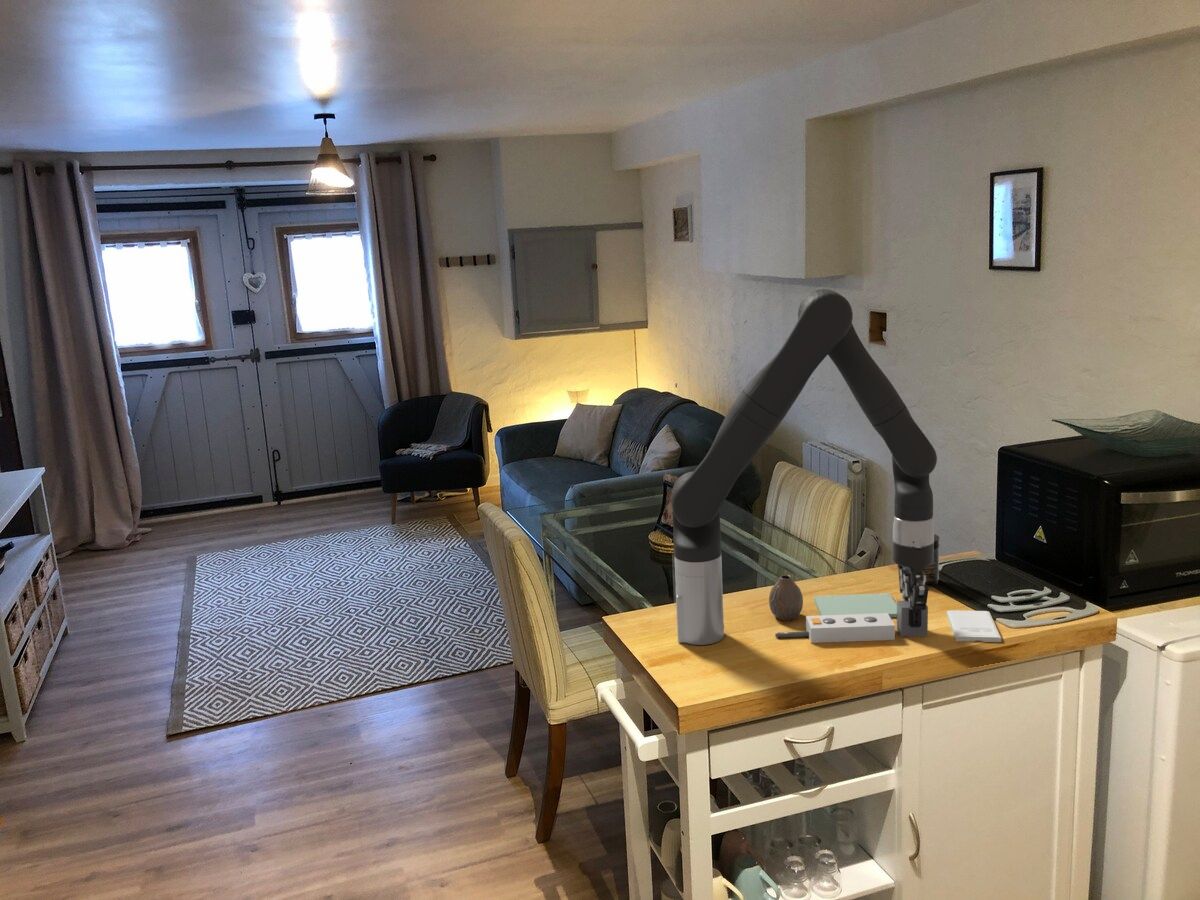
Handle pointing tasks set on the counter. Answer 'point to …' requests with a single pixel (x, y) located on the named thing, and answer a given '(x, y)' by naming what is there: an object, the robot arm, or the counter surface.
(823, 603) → the mat
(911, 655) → the counter surface
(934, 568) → the supplement container
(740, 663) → the counter surface
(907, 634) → the plug
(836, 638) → the power strip
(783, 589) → the vase
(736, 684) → the counter surface
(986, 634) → the external hard drive
